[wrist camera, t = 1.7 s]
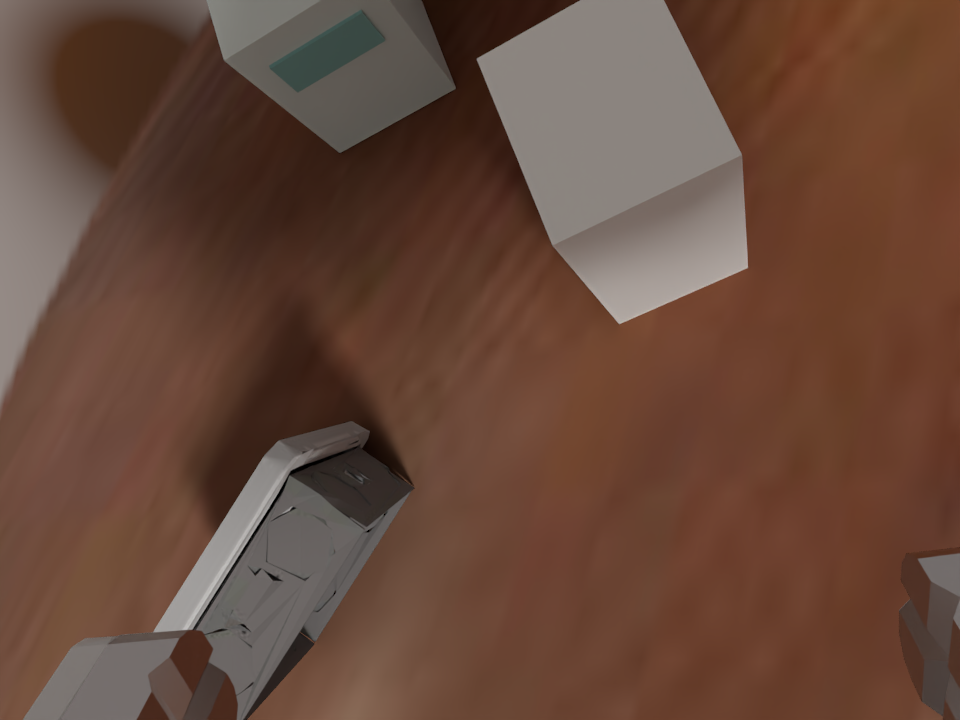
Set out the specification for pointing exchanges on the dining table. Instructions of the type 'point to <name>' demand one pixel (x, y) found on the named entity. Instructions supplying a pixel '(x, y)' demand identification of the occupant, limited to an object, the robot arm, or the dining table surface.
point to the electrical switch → (287, 556)
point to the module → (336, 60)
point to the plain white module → (623, 152)
